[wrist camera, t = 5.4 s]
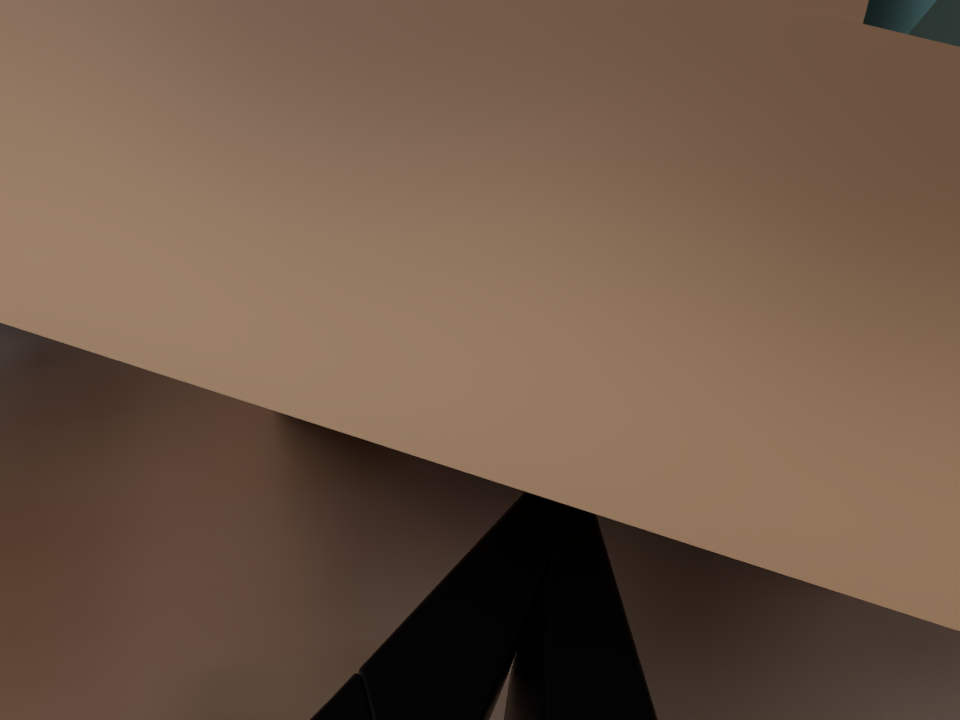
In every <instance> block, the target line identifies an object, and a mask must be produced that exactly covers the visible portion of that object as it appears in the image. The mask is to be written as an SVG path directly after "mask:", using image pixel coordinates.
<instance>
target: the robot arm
mask: <svg viewBox="0 0 960 720" xmlns="http://www.w3.org/2000/svg"><path fill="white" fill-rule="evenodd" d="M514 656H515V657H514ZM513 659H514V661H513ZM512 661H513V666H512V670H511V676H510V682H509V688H508V695H507V702H506V709H505V716H504V720H657V716H656V713H655V710H654V706H653V703H652V700H651V696H650V693H649V690H648V686H647V683H646V680H645V676H644V673H643V670H642V666H641V663H640V660H639V656H638V653H637V650H636V646H635V643H634V640H633V636H632V633H631V630H630V626H629V623H628V620H627V616H626V613H625V610H624V606H623V603H622V600H621V596H620V593H619V590H618V586H617V583H616V580H615V576H614V573H613V570H612V566H611V563H610V560H609V556H608V553H607V550H606V546H605V543H604V540H603V536H602V533H601V530H600V526H599V523H598V520H597V517H596V514H594V513H591V512H587V511H584V510H581V509H578V508H575V507H572V506H569V505H566V504H563V503H560V504H559V502H556V501H553V500H550V499H547V498H544V497H541V496H538V495H535V494H531V493H528V492H524V493H523V494H522V495H521V497H520V498H519V499H518V500H517V501H516V502H515V503H514V504H513V505H512V506H511V507H510V508H509V509H508V510H507V512H506V513H505V514H504V515H503V516H502V517H501V518H500V519H499V520H498V521H497V522H496V523H495V524H494V525H493V526H492V528H491V529H490V530H489V531H488V532H487V533H486V534H485V535H484V536H483V537H482V538H481V539H480V540H479V541H478V543H477V544H476V545H475V546H474V547H473V548H472V549H471V550H470V551H469V552H468V553H467V554H466V555H465V556H464V557H463V559H462V560H461V561H460V562H459V563H458V564H457V565H456V566H455V567H454V568H453V569H452V570H451V571H450V572H449V573H448V575H447V576H446V577H445V578H444V579H443V580H442V581H441V582H440V583H439V584H438V585H437V586H436V587H435V588H434V590H433V591H432V592H431V593H430V594H429V595H428V596H427V597H426V598H425V599H424V600H423V601H422V602H421V603H420V604H419V606H418V607H417V608H416V609H415V610H414V611H413V612H412V613H411V614H410V615H409V616H408V617H407V618H406V619H405V621H404V622H403V623H402V624H401V625H400V626H399V627H398V628H397V629H396V630H395V631H394V632H393V633H392V634H391V635H390V637H389V638H388V639H387V640H386V641H385V642H384V643H383V644H382V645H381V646H380V647H379V648H378V649H377V650H376V652H375V653H374V654H373V655H372V656H371V657H370V658H369V659H368V660H367V661H366V662H365V663H364V664H363V665H362V666H361V668H360V669H359V674H357V673H356V674H354V675H353V676H352V677H351V678H350V679H349V680H348V681H347V682H346V683H345V684H344V685H343V686H342V687H341V688H340V689H339V690H338V692H337V693H336V694H335V695H334V696H333V697H332V698H331V699H330V700H329V701H328V702H327V703H326V704H325V705H324V706H323V707H322V708H321V709H320V710H319V711H318V712H317V713H316V714H315V715H314V716H313V717H312V718H311V719H310V720H490V717H491V715H492V712H493V710H494V708H495V705H496V703H497V700H498V698H499V695H500V693H501V690H502V688H503V686H504V683H505V680H506V677H507V675H508V672H509V669H510V667H511V664H512Z"/></svg>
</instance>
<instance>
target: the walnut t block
mask: <svg viewBox="0 0 960 720" xmlns="http://www.w3.org/2000/svg"><path fill="white" fill-rule="evenodd" d="M868 2H869V0H0V323H3V324H6V325H9V326H13V327H16V328H19V329H22V330H25V331H28V332H31V333H34V334H37V335H41V336H44V337H47V338H50V339H53V340H56V341H59V342H62V343H65V344H69V345H72V346H75V347H78V348H81V349H84V350H87V351H90V352H93V353H96V354H100V355H103V356H106V357H109V358H112V359H115V360H118V361H121V362H124V363H128V364H131V365H134V366H137V367H140V368H143V369H146V370H149V371H152V372H156V373H159V374H162V375H165V376H168V377H171V378H174V379H177V380H180V381H183V382H187V383H190V384H193V385H196V386H199V387H202V388H205V389H208V390H211V391H215V392H218V393H221V394H224V395H227V396H230V397H233V398H236V399H239V400H243V401H246V402H249V403H252V404H255V405H258V406H261V407H264V408H267V409H270V410H274V411H277V412H280V413H283V414H286V415H289V416H292V417H295V418H298V419H302V420H305V421H308V422H311V423H314V424H317V425H320V426H323V427H326V428H330V429H333V430H336V431H339V432H342V433H345V434H348V435H351V436H354V437H357V438H361V439H364V440H367V441H370V442H373V443H376V444H379V445H382V446H385V447H389V448H392V449H395V450H398V451H401V452H404V453H407V454H410V455H413V456H417V457H420V458H423V459H426V460H429V461H432V462H435V463H438V464H441V465H444V466H448V467H451V468H454V469H457V470H460V471H463V472H466V473H469V474H472V475H476V476H479V477H482V478H485V479H488V480H491V481H494V482H497V483H500V484H504V485H507V486H510V487H513V488H516V489H519V490H522V491H525V492H528V493H531V494H535V495H538V496H541V497H544V498H547V499H550V500H553V501H556V502H559V503H563V504H566V505H569V506H572V507H575V508H578V509H581V510H584V511H587V512H591V513H594V514H597V515H600V516H603V517H606V518H609V519H612V520H615V521H618V522H622V523H625V524H628V525H631V526H634V527H637V528H640V529H643V530H646V531H650V532H653V533H656V534H659V535H662V536H665V537H668V538H671V539H674V540H678V541H681V542H684V543H687V544H690V545H693V546H696V547H699V548H702V549H705V550H709V551H712V552H715V553H718V554H721V555H724V556H727V557H730V558H733V559H737V560H740V561H743V562H746V563H749V564H752V565H755V566H758V567H761V568H765V569H768V570H771V571H774V572H777V573H780V574H783V575H786V576H789V577H792V578H796V579H799V580H802V581H805V582H808V583H811V584H814V585H817V586H820V587H824V588H827V589H830V590H833V591H836V592H839V593H842V594H845V595H848V596H852V597H855V598H858V599H861V600H864V601H867V602H870V603H873V604H876V605H879V606H883V607H886V608H889V609H892V610H895V611H898V612H901V613H904V614H907V615H911V616H914V617H917V618H920V619H923V620H926V621H929V622H932V623H935V624H939V625H942V626H945V627H948V628H951V629H954V630H957V631H960V47H958V46H954V45H950V44H946V43H941V42H937V41H933V40H929V39H925V38H920V37H916V36H912V35H908V34H904V33H900V32H895V31H891V30H887V29H883V28H879V27H874V26H870V25H866V24H863V21H864V17H865V13H866V10H867V6H868Z"/></svg>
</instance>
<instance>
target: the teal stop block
mask: <svg viewBox="0 0 960 720" xmlns="http://www.w3.org/2000/svg"><path fill="white" fill-rule="evenodd" d="M863 24H866V25H870V26H874V27H879V28H883V29H887V30H891V31H895V32H900V33H904V34H908V35H912V36H916V37H920V38H925V39H929V40H933V41H937V42H941V43H946V44H950V45H954V46H958V47H960V0H869V2H868V6H867V10H866V13H865V17H864V21H863Z"/></svg>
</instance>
